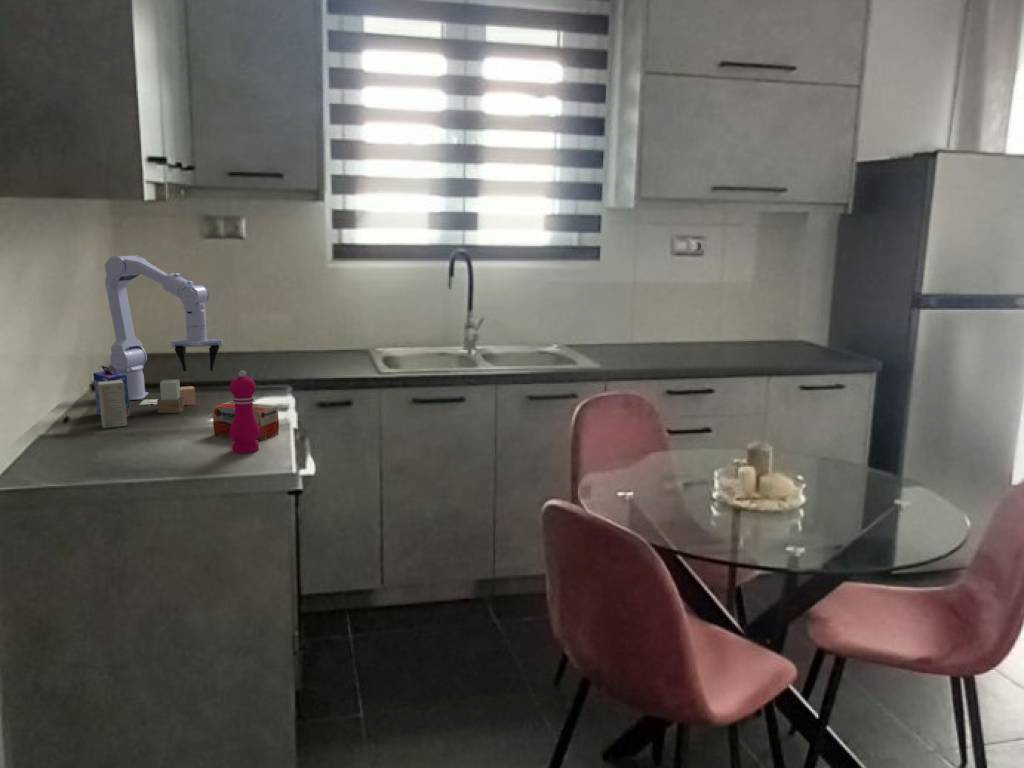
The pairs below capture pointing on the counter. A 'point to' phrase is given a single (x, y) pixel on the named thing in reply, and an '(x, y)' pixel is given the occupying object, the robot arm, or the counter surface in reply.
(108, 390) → the skincare box
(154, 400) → the tile
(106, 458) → the counter surface
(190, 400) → the clay block
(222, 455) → the counter surface
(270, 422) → the medicine box
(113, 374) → the ink cartridge box
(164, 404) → the base block
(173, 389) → the sage block
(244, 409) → the pepper mill
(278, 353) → the counter surface
